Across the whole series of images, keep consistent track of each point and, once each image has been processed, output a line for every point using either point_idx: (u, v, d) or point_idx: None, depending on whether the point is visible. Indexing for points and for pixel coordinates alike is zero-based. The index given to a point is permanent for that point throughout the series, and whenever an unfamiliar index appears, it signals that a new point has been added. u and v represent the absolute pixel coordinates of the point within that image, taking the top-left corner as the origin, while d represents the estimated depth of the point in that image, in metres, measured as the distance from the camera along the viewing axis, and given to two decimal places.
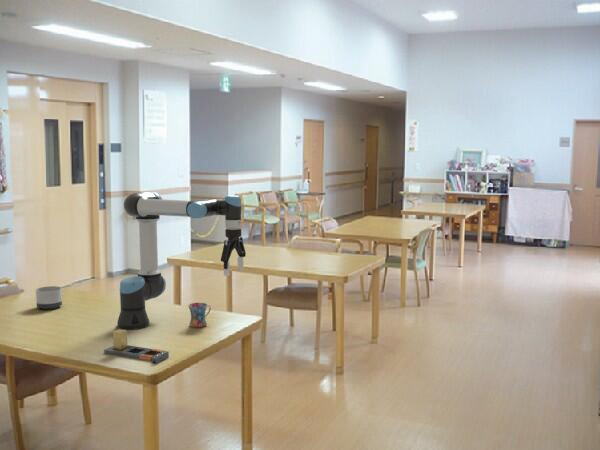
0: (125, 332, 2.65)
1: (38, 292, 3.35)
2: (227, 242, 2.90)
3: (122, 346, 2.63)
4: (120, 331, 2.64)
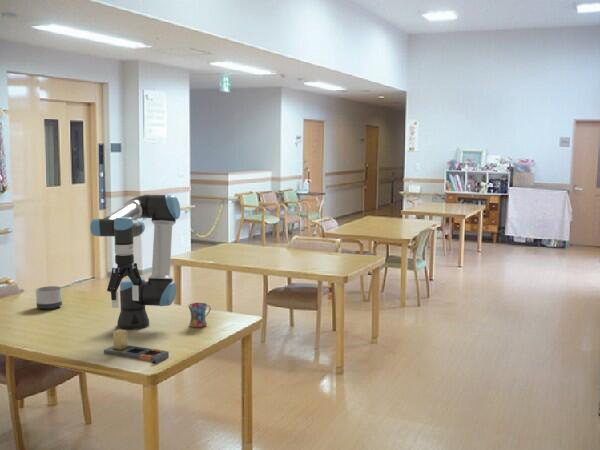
0: (125, 332, 2.65)
1: (38, 292, 3.35)
2: (115, 270, 2.57)
3: (122, 346, 2.63)
4: (120, 331, 2.64)
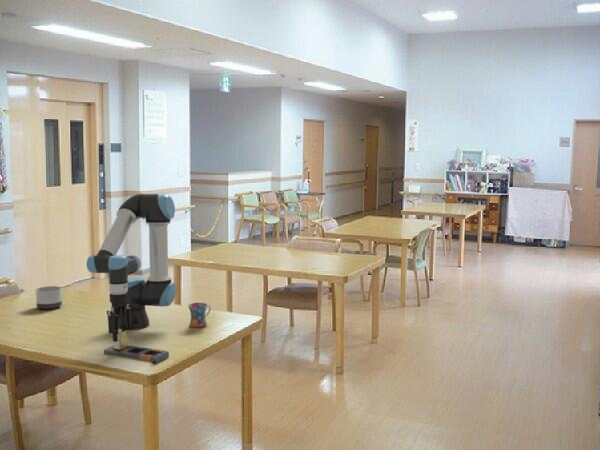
0: (125, 332, 2.65)
1: (38, 292, 3.35)
2: (110, 314, 2.58)
3: (122, 346, 2.63)
4: (120, 331, 2.64)
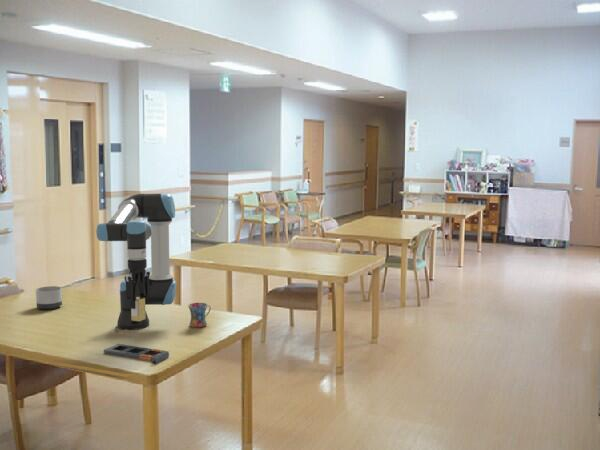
0: (143, 299, 2.59)
1: (38, 292, 3.35)
2: (128, 279, 2.51)
3: (139, 313, 2.57)
4: (138, 298, 2.58)
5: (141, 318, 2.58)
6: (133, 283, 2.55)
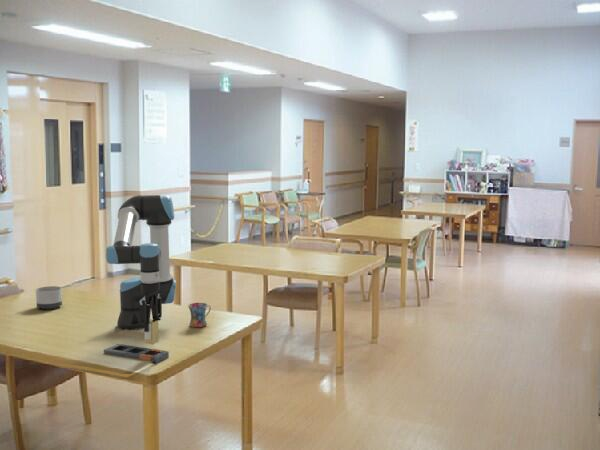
0: (156, 322, 2.58)
1: (38, 292, 3.35)
2: (142, 303, 2.51)
3: (153, 336, 2.56)
4: (151, 321, 2.57)
5: (154, 341, 2.57)
6: (146, 306, 2.55)
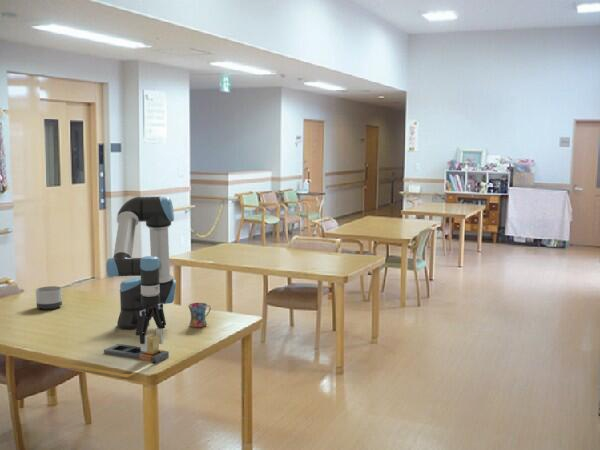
0: (157, 336, 2.59)
1: (38, 292, 3.35)
2: (141, 313, 2.51)
3: (153, 351, 2.57)
4: (152, 335, 2.58)
5: None
6: (145, 318, 2.54)
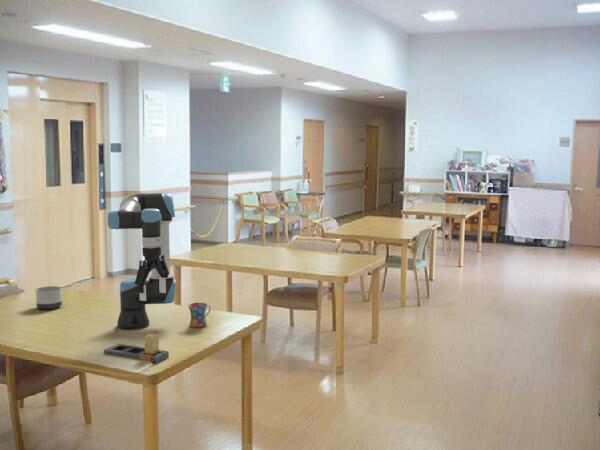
0: (157, 336, 2.59)
1: (38, 292, 3.35)
2: (143, 263, 2.53)
3: (153, 351, 2.57)
4: (152, 335, 2.58)
5: None
6: (146, 269, 2.57)
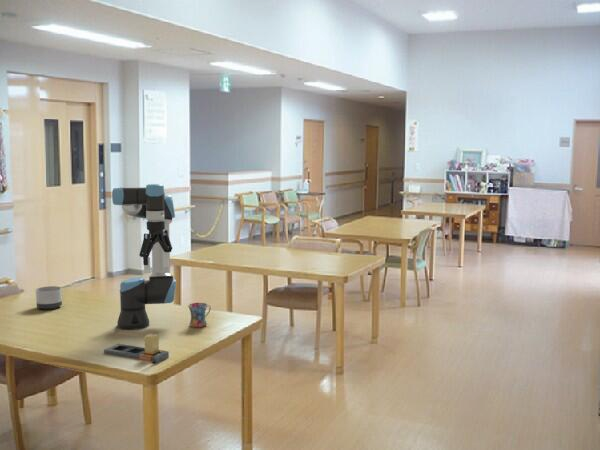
0: (157, 336, 2.59)
1: (38, 292, 3.35)
2: (147, 235, 2.61)
3: (153, 351, 2.57)
4: (152, 335, 2.58)
5: None
6: (150, 242, 2.65)
